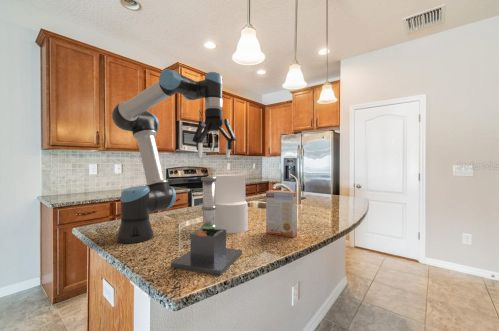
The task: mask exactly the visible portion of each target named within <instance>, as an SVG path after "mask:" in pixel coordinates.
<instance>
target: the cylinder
mask: <svg viewBox="0 0 499 331" xmlns="http://www.w3.org/2000/svg"><path fill="white" fill-rule="evenodd" d="M214 177H216V181H214V205H215V206H216V209H215V210H214V224H216V229H225V230H226V234H229V235H230V234H239V233H244V232H246V231H247V230H248V226H249V225H248V221H249V220H248V212H249V211H248V209H249V208H248V207H249V206H248V201H246V200H247V199H246V198H247V197H246V194H247V193H246V189H247V188H246V181H247V180H246V174H219V175H218V174H216V175H214Z"/></svg>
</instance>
